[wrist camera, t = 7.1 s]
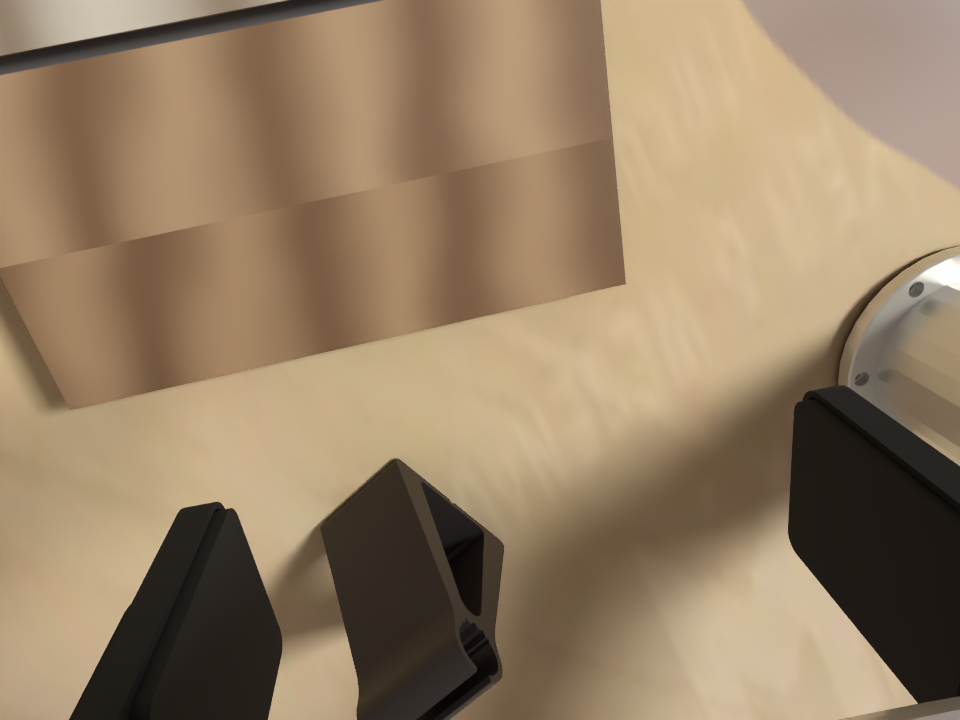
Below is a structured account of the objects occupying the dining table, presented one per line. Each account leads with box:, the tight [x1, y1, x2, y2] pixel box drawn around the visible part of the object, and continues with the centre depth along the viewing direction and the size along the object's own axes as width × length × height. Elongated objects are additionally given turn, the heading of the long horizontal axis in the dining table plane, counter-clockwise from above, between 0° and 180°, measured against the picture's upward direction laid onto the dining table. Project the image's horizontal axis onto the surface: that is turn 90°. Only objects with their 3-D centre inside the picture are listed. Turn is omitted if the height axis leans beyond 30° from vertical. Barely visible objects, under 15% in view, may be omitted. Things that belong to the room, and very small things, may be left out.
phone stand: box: [321, 459, 504, 720], centre depth 33 cm, size 9×6×12 cm, turn 42°
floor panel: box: [0, 0, 626, 410], centre depth 27 cm, size 27×22×2 cm
